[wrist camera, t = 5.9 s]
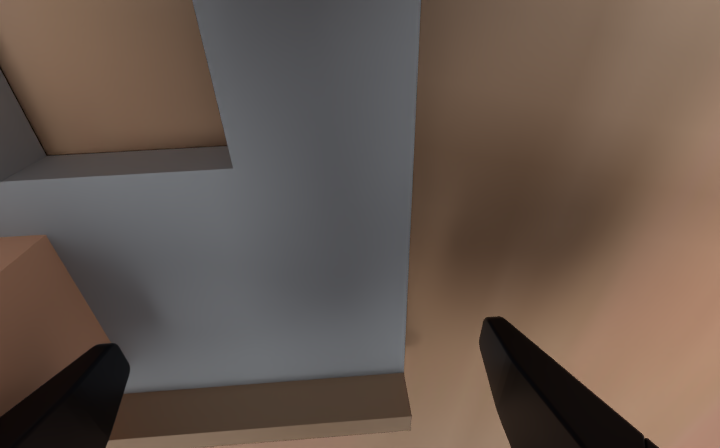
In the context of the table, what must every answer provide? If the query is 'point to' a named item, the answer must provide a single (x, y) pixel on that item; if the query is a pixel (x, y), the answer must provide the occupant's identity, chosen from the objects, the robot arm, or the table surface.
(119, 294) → the box
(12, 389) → the terracotta block
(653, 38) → the table surface
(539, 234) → the table surface
